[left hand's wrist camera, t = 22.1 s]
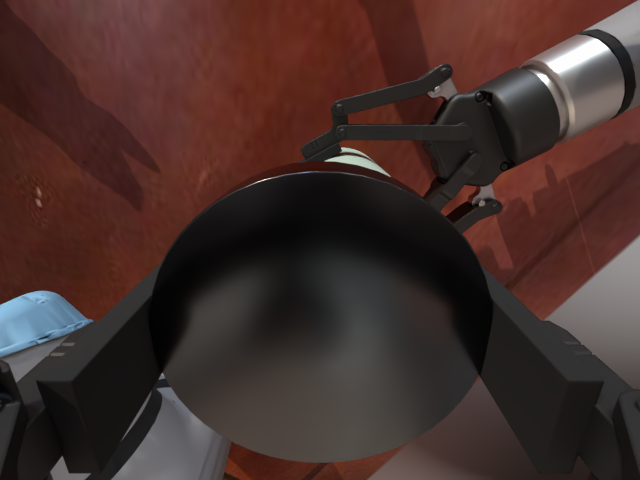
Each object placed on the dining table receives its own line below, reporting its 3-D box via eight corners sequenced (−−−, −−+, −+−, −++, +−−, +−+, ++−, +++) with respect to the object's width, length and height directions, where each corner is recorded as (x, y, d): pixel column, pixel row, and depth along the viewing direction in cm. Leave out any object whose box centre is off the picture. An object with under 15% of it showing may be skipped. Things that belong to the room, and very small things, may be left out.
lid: (525, 298, 12) (563, 332, 10) (328, 453, 15) (330, 503, 13) (308, 85, 10) (306, 77, 8) (120, 315, 12) (83, 351, 11)
